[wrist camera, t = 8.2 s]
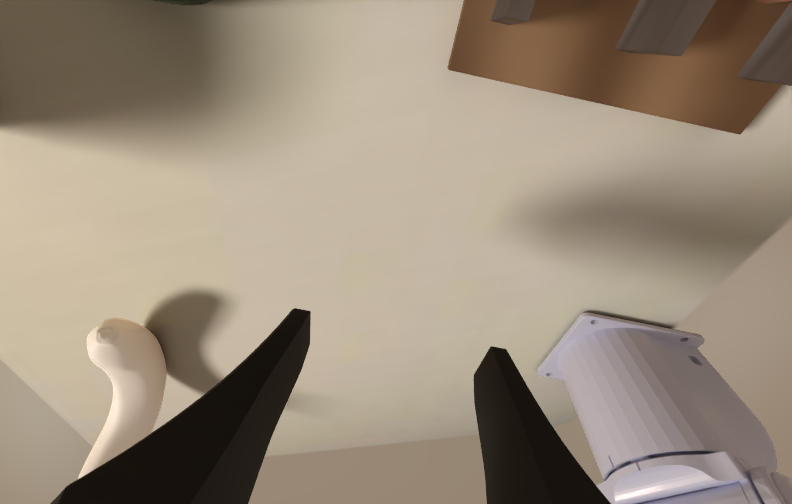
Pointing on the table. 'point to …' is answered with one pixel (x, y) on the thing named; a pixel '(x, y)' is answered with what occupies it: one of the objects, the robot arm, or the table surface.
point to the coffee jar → (185, 2)
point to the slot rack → (635, 53)
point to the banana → (126, 385)
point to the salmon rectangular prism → (772, 1)
